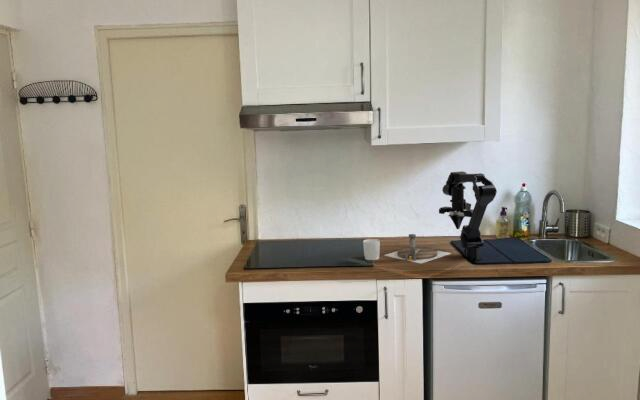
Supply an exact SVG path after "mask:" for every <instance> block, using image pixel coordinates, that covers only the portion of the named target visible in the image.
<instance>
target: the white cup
mask: <svg viewBox="0 0 640 400" xmlns="http://www.w3.org/2000/svg"><path fill="white" fill-rule="evenodd" d="M362 243H363V245H362V246H363V255H364V260H365V261H376V260H379V259H380V250H381V249H380V247H381V246H380V244H381V242H380V239H376V238H368V239H364V240H362Z"/></svg>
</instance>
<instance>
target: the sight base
mask: <svg viewBox="0 0 640 400" xmlns="http://www.w3.org/2000/svg"><path fill="white" fill-rule="evenodd" d="M397 251H398V250H397ZM397 251H393V252H390V253H387V254H384V255H383V256H385V257H389V258H393V259H394V258H395V259H398V260H402V261H403V260H404V261H407V262H412V263H417V264H420V265H421V264H425V263H427V262H429V261H432V260H436V259H439V258H442V257H445V256H448V255H451V254H452V253H451V252H447V251H442V250H437V256H435V257H432V258H427V259H416V255H414V256H413V259H412V258H411V256H409V259H408V255H405V258H403V257H400V256H398V254H397Z"/></svg>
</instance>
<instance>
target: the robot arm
mask: <svg viewBox="0 0 640 400" xmlns="http://www.w3.org/2000/svg"><path fill="white" fill-rule="evenodd" d="M466 183H472V192H474V193H473V194H474V198H475V200H476V202H475V204H474V207H473V209H472V204H471V203H469V202H467V201H466V199H465V198H464V197H465V195H464V194H465V193H464V192H465V190H466V189H467V188H466V186H465V185H464V184H466ZM477 183H481V184H482V185H478V184H477ZM442 193H443V194H444V195H446V196H450V197H451V199H449V202H450V203H451V206H441V207H439V209H438V214H441V215H445V213H449V215H448V217H449V218H450V219H451V220H452V222H453V225H454V226H455V229H456V230H460V228H461V225H462V222H463V220H464V218H465V217H466V218H470V219H469V222H468V224H465V225H462V229H461V231H460V235H459V238H460V244H461V247H462V248H463V256H464V257H465V258H468V259H469V260H468V261H469V262H473V261H475V262H478V261H480V260H483V258H482V257H481V247H482V248H483V247H484V244H485V243H484V240H483V238H482V237H481V235H482V234H481V230H480V226H481V224H482V221H483V219H484V216H485V214H486V210H487V208H488V205H489V204H490V203H492V202H493V201H494V199H495V198H496V196H497V193H498V192H497V188H496V186H495V185H494V183H493V181H491V180H490V179H488V178H487V177H486V176H485V173H479V172H478V173H467V172H466V171H462V170H461V171H451V172H450V173H449V175H448V177H447V179H446V181H445V184H444V185H443V187H442ZM477 260H478V261H477Z"/></svg>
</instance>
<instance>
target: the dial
mask: <svg viewBox="0 0 640 400" xmlns="http://www.w3.org/2000/svg"><path fill="white" fill-rule="evenodd" d="M408 237H409V246H406V247H403V248H400V249H398V250H397V254H398V256H400V257H403V258H405V255H408V259H409V256H411V258H412V259H413V256H414V255H416V259H427V258H432V257H435V256H437V251H438V250H437V249H435V248H433V247H427V246H416V239H415V238H416V234H415V233H411V234H410V233H409V234H408Z"/></svg>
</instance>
